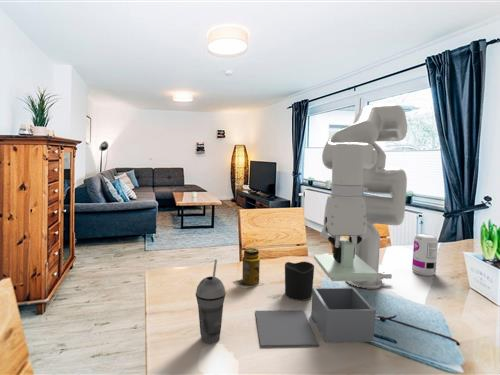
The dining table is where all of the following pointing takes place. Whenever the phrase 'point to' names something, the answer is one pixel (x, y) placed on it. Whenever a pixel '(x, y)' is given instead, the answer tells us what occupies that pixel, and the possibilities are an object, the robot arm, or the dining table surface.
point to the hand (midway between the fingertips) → (343, 260)
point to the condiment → (250, 269)
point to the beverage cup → (210, 307)
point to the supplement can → (425, 254)
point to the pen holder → (299, 280)
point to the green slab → (345, 265)
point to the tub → (342, 314)
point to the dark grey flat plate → (284, 329)
